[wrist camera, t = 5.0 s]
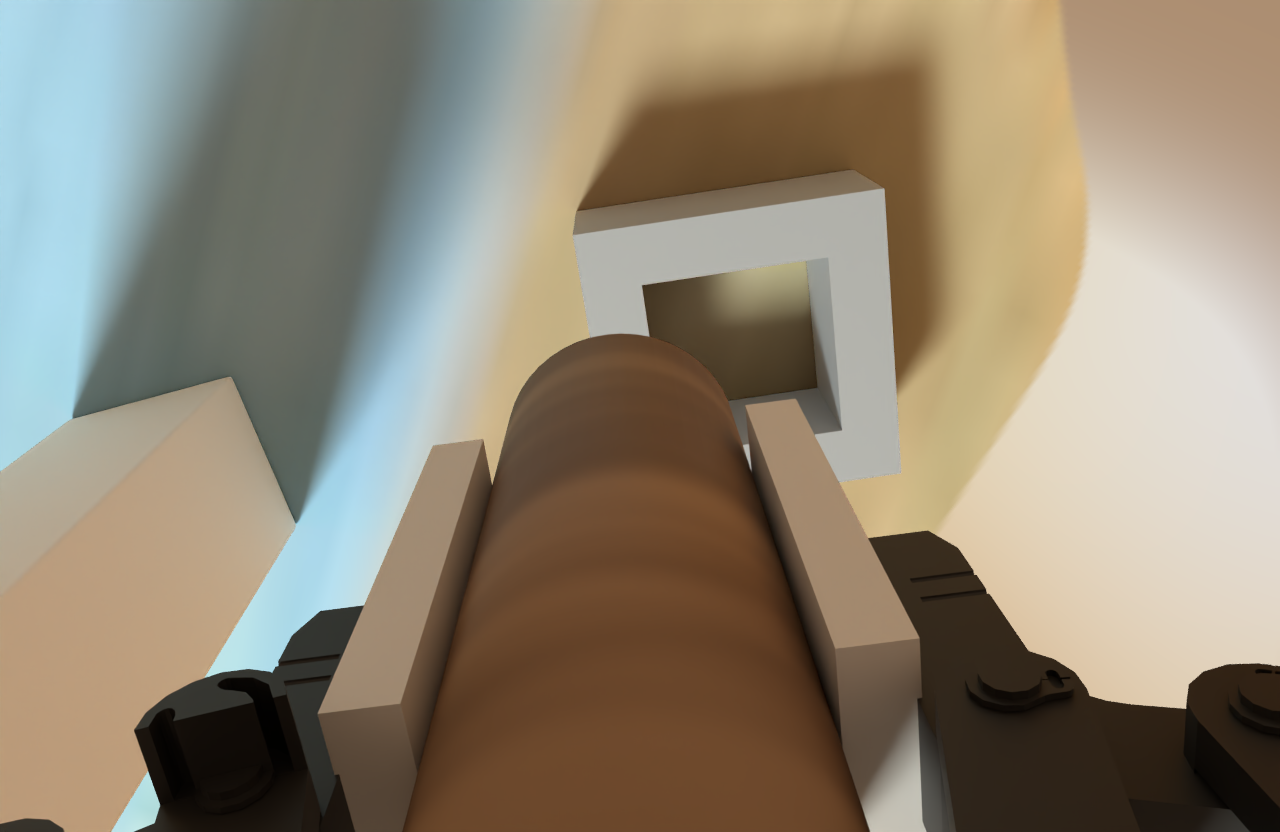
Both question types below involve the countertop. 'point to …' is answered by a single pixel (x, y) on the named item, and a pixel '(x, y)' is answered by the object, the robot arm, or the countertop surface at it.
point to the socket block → (759, 237)
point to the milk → (122, 588)
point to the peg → (629, 625)
